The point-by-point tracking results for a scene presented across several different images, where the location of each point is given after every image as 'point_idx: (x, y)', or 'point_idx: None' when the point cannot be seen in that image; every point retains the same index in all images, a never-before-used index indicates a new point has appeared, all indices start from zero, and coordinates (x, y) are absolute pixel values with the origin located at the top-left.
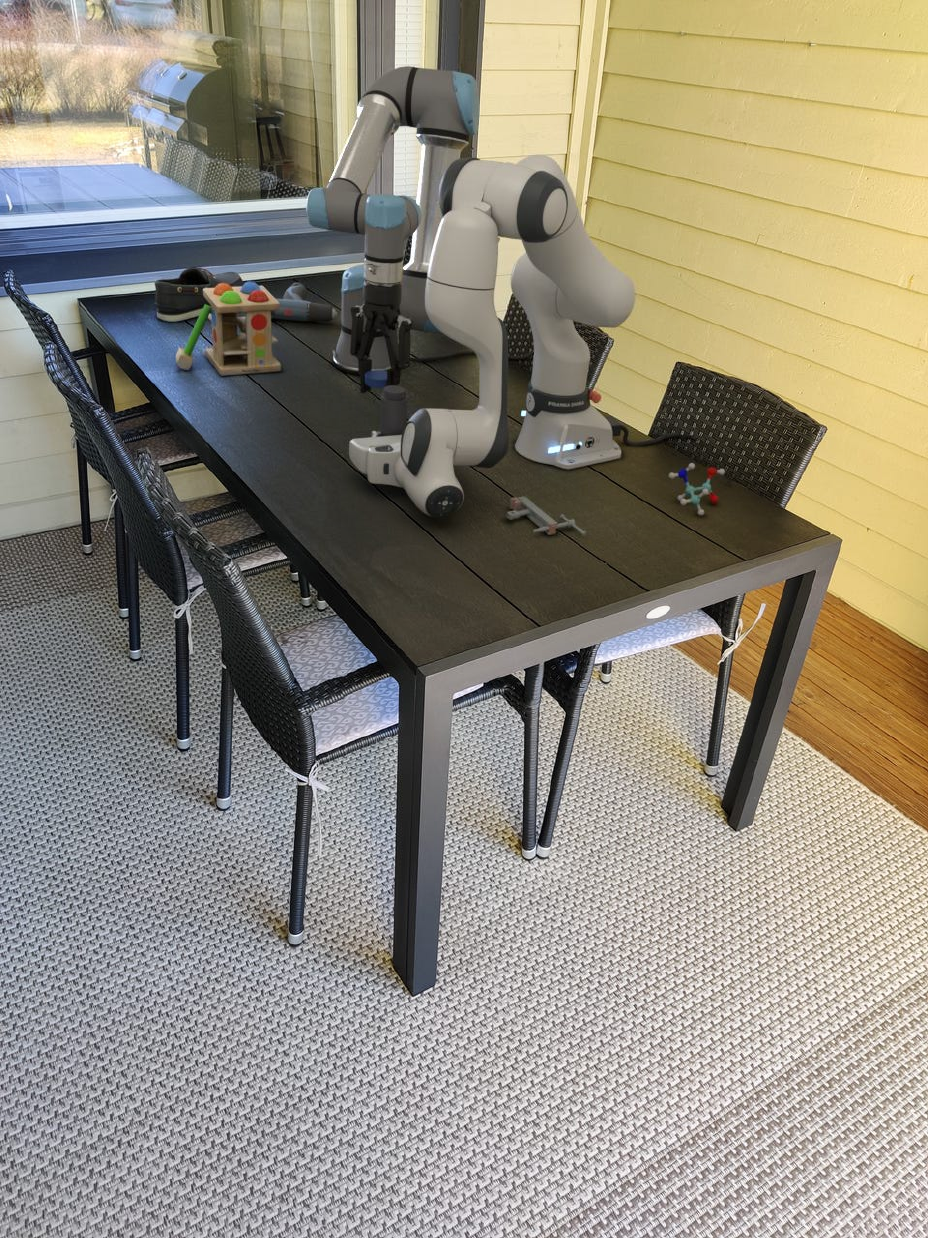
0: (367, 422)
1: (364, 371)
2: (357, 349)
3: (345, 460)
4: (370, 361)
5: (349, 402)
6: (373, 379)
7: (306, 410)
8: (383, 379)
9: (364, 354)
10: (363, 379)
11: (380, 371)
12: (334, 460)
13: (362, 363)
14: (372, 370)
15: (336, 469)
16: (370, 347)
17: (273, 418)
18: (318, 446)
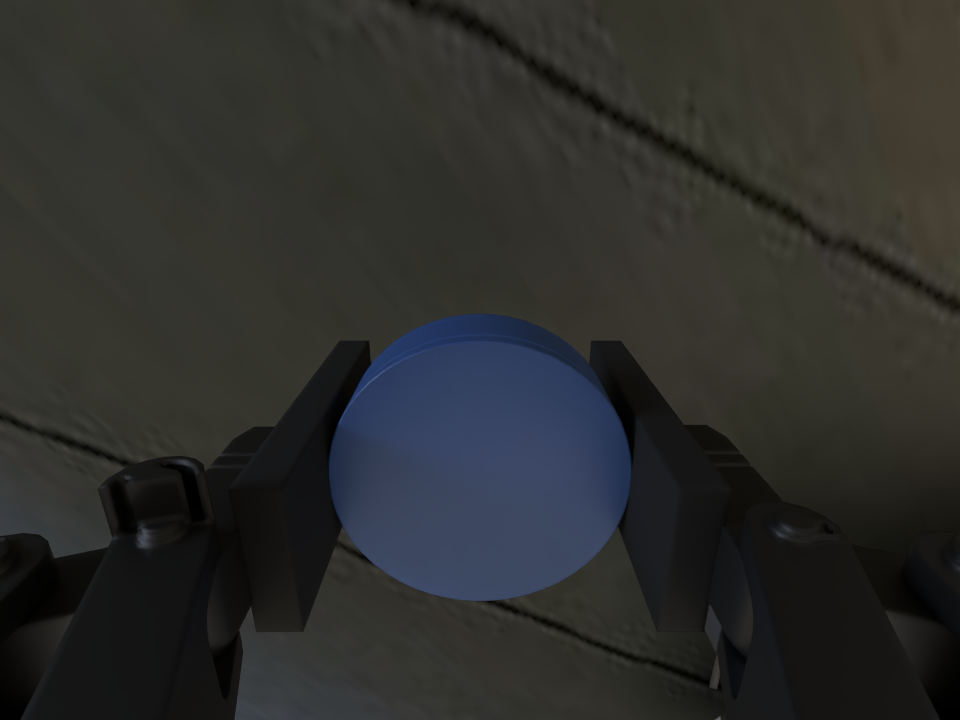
0: (391, 278)
1: (332, 545)
2: (17, 674)
3: (559, 626)
4: (293, 510)
5: (104, 94)
6: (507, 595)
7: (63, 363)
8: (587, 548)
9: (232, 696)
10: None
11: (427, 394)
12: (527, 646)
13: (280, 617)
14: (343, 427)
15: (574, 686)
16: (189, 695)
17: (60, 523)
18: (402, 601)
